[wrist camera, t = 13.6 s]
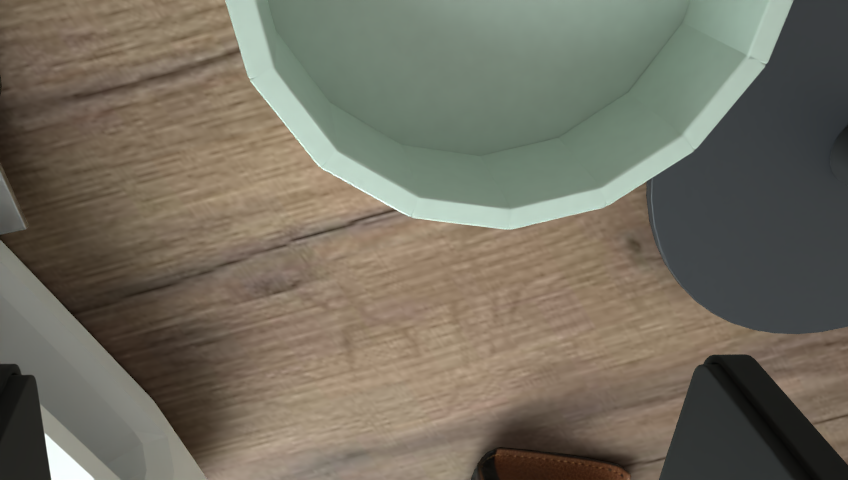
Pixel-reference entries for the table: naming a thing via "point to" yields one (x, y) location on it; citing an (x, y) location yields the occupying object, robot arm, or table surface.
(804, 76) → the lid
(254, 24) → the bowl
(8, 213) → the blade
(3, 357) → the document scanner
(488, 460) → the sunglasses case
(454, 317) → the table surface
